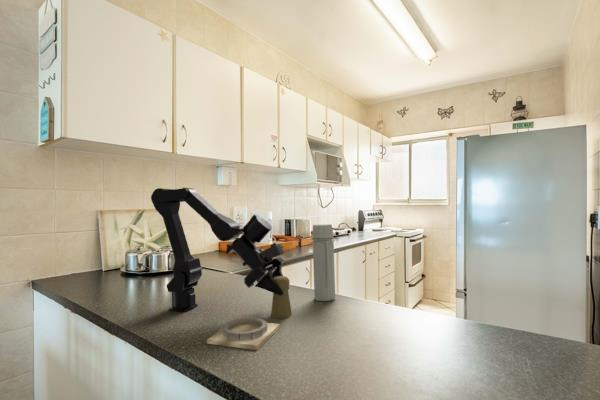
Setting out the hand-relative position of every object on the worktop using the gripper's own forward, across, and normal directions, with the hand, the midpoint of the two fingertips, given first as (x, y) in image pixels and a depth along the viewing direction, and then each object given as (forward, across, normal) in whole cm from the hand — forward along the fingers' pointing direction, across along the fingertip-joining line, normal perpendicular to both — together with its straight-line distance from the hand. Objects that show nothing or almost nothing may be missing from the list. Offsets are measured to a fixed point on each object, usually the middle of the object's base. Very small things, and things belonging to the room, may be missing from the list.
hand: (285, 292), depth 90 cm
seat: (+1, -16, +8) cm, 18 cm away
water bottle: (+11, +16, -1) cm, 20 cm away
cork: (+4, 0, +6) cm, 7 cm away
